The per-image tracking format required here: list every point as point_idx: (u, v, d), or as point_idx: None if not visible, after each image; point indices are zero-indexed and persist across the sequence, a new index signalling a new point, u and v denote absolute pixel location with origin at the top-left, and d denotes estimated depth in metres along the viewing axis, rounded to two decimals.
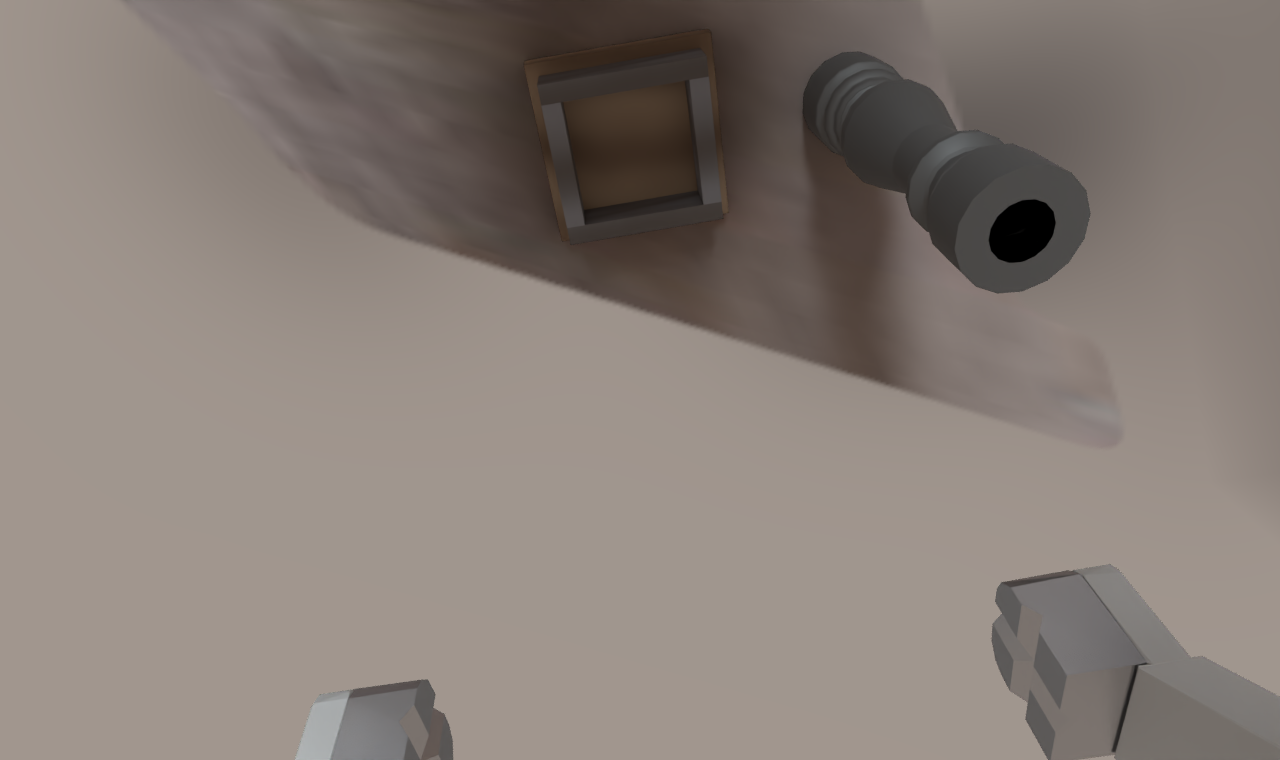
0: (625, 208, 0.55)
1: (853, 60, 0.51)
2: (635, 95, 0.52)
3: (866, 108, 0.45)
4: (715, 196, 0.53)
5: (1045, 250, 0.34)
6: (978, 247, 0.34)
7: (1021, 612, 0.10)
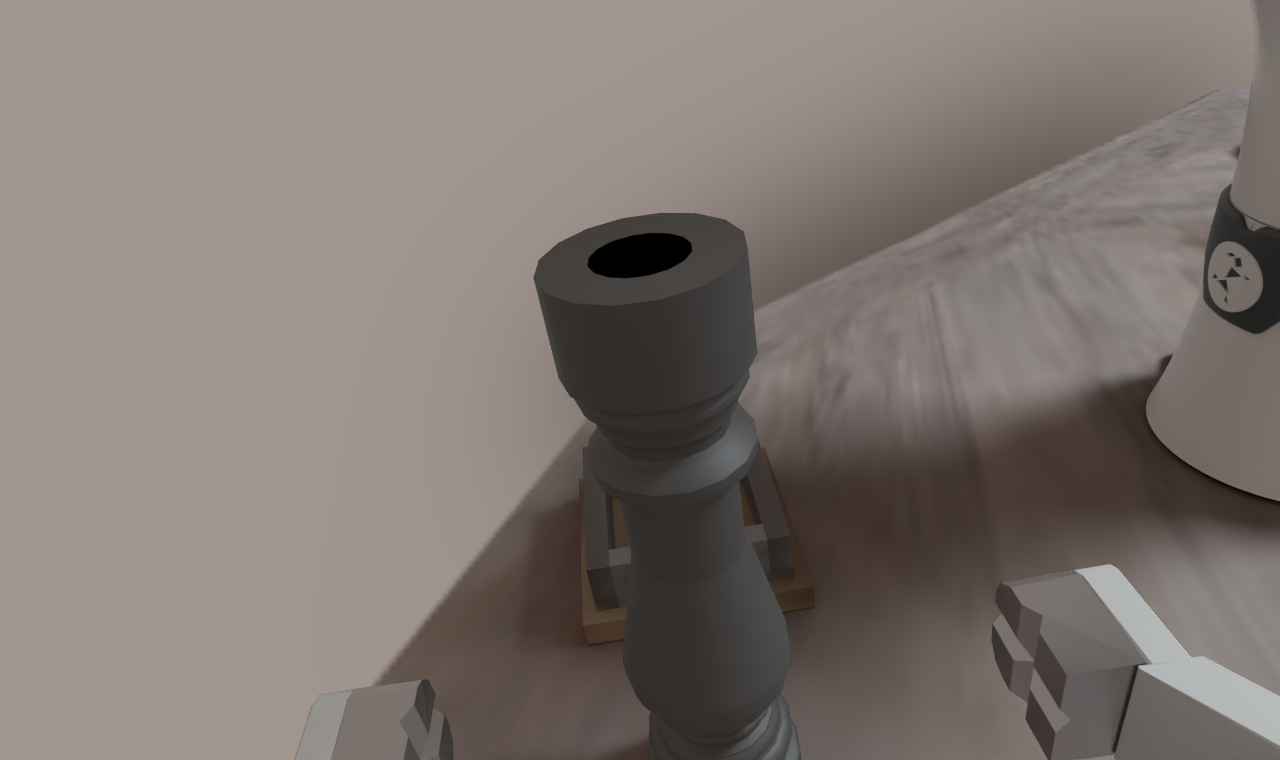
0: (610, 510, 0.47)
1: None
2: None
3: None
4: (617, 560, 0.41)
5: (601, 279, 0.20)
6: (621, 231, 0.23)
7: (1021, 612, 0.10)
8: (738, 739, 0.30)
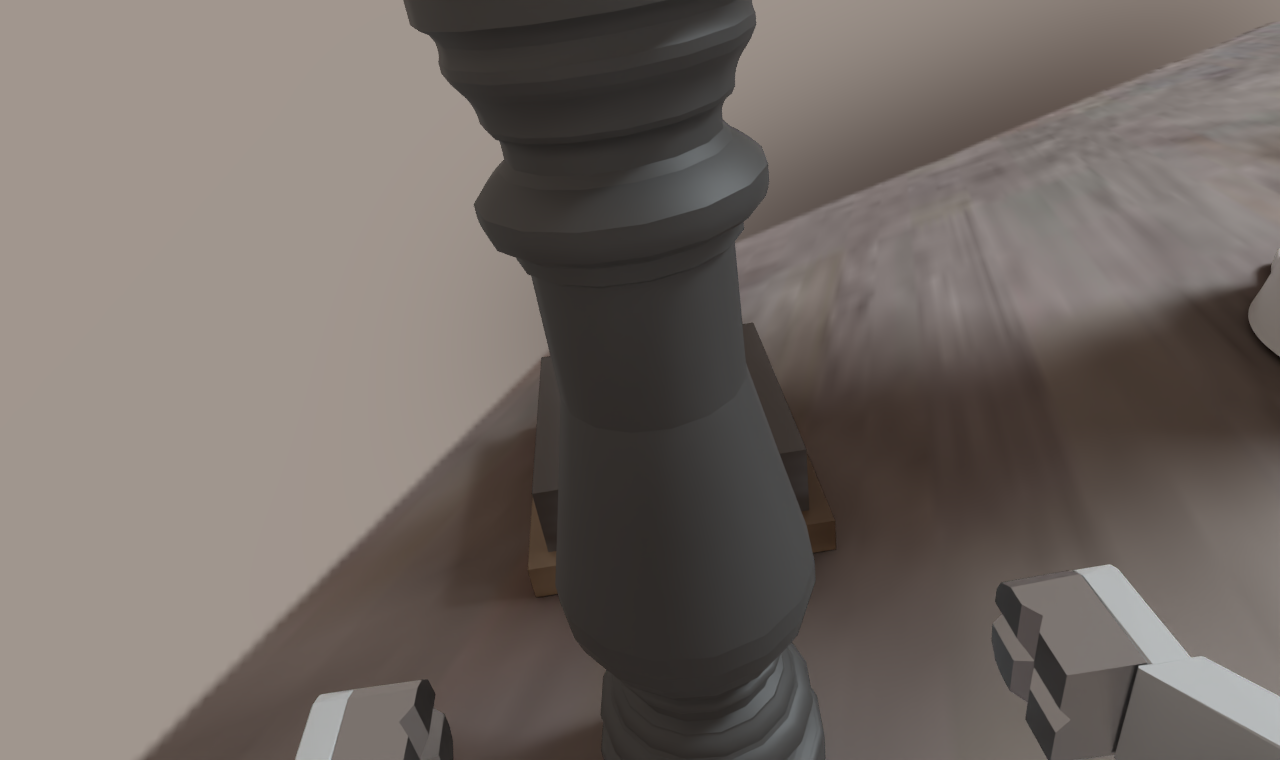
0: None
1: None
2: None
3: None
4: None
5: None
6: None
7: (1021, 612, 0.10)
8: (732, 708, 0.19)
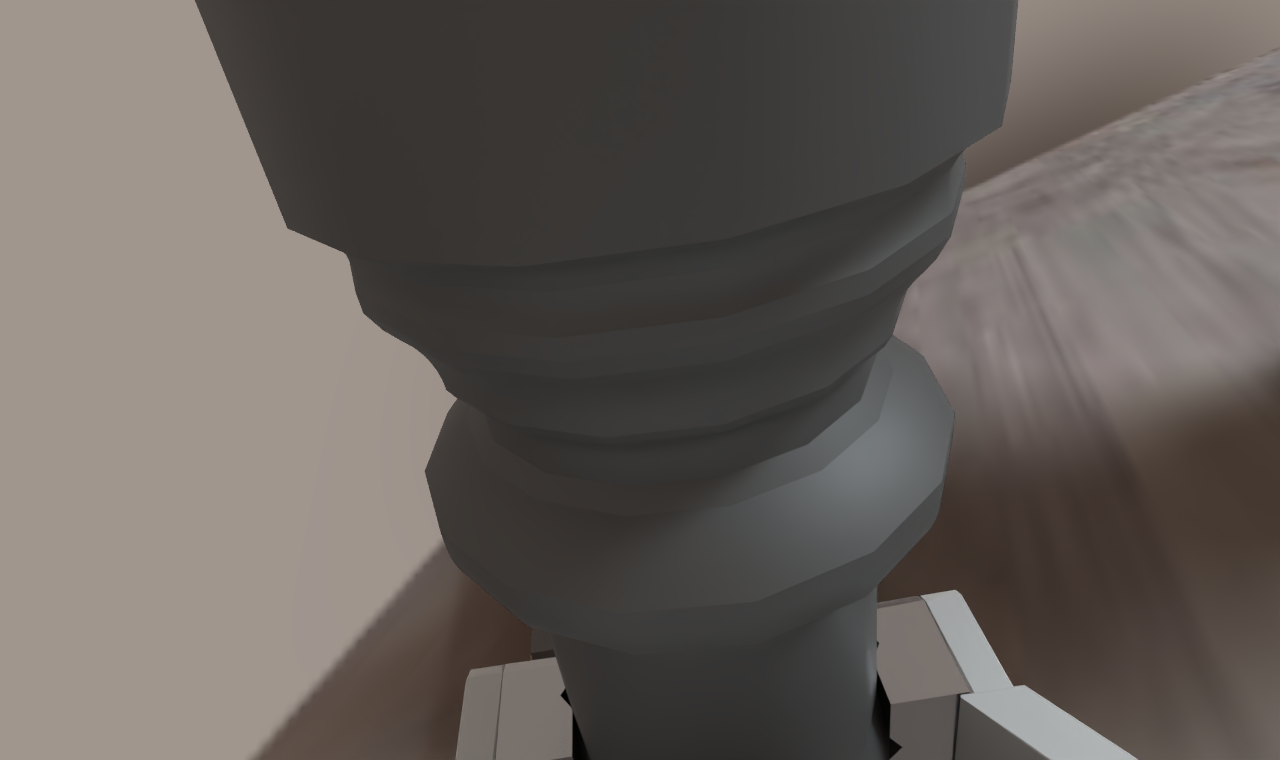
0: None
1: None
2: None
3: None
4: None
5: None
6: None
7: None
8: None
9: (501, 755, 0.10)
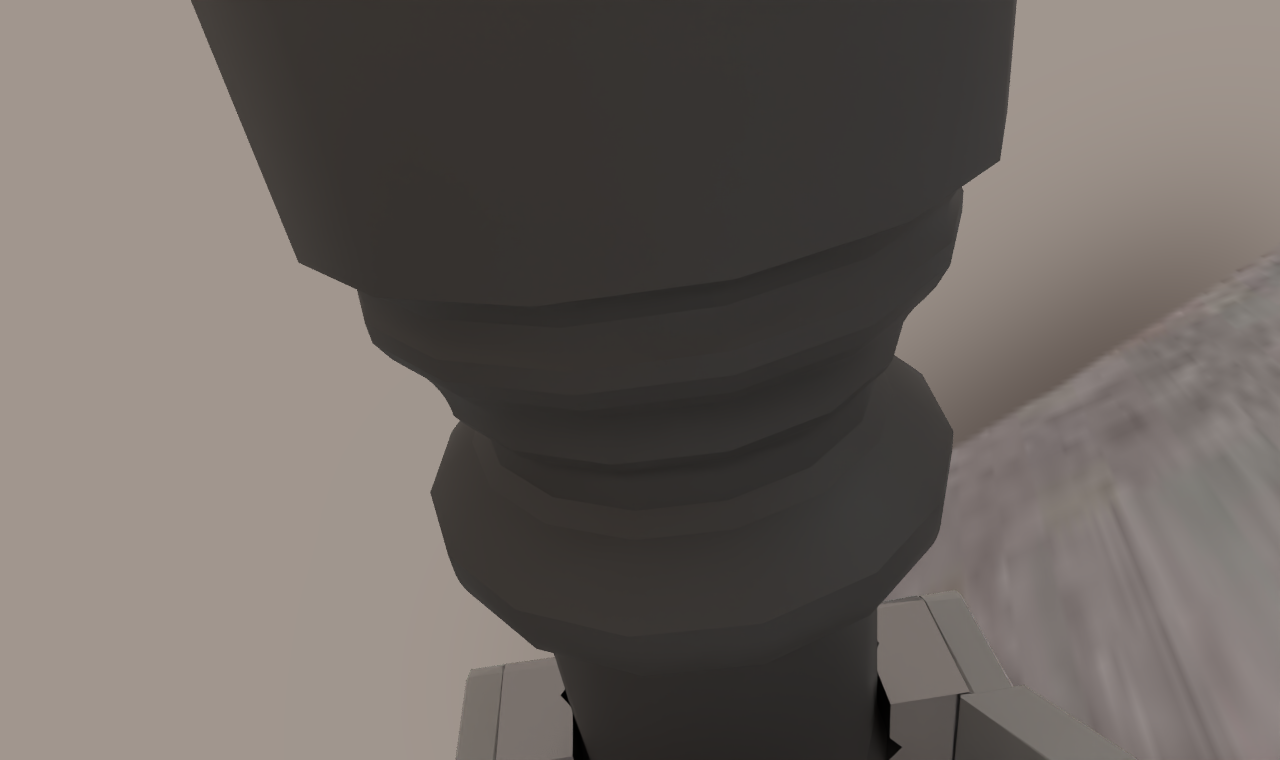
0: None
1: None
2: None
3: None
4: None
5: None
6: None
7: None
8: None
9: (501, 755, 0.10)
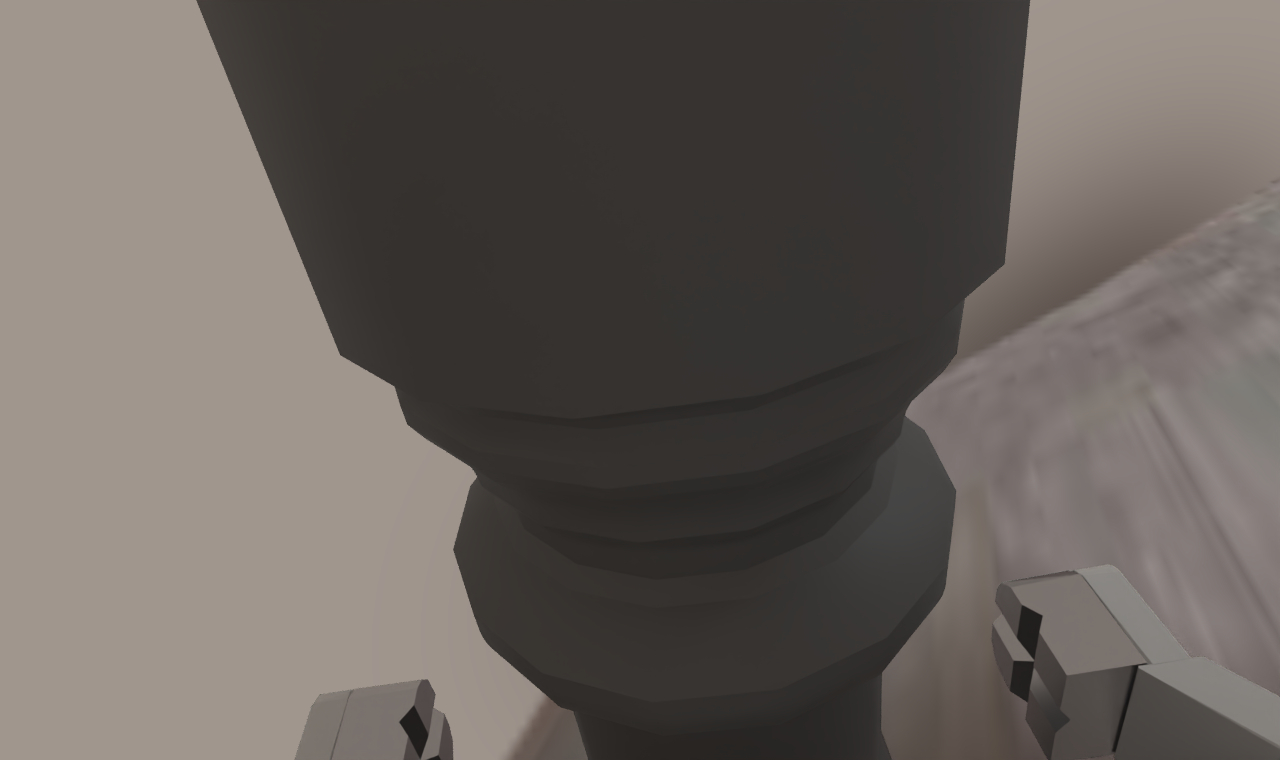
0: None
1: None
2: None
3: None
4: None
5: None
6: None
7: (1021, 612, 0.10)
8: None
9: None
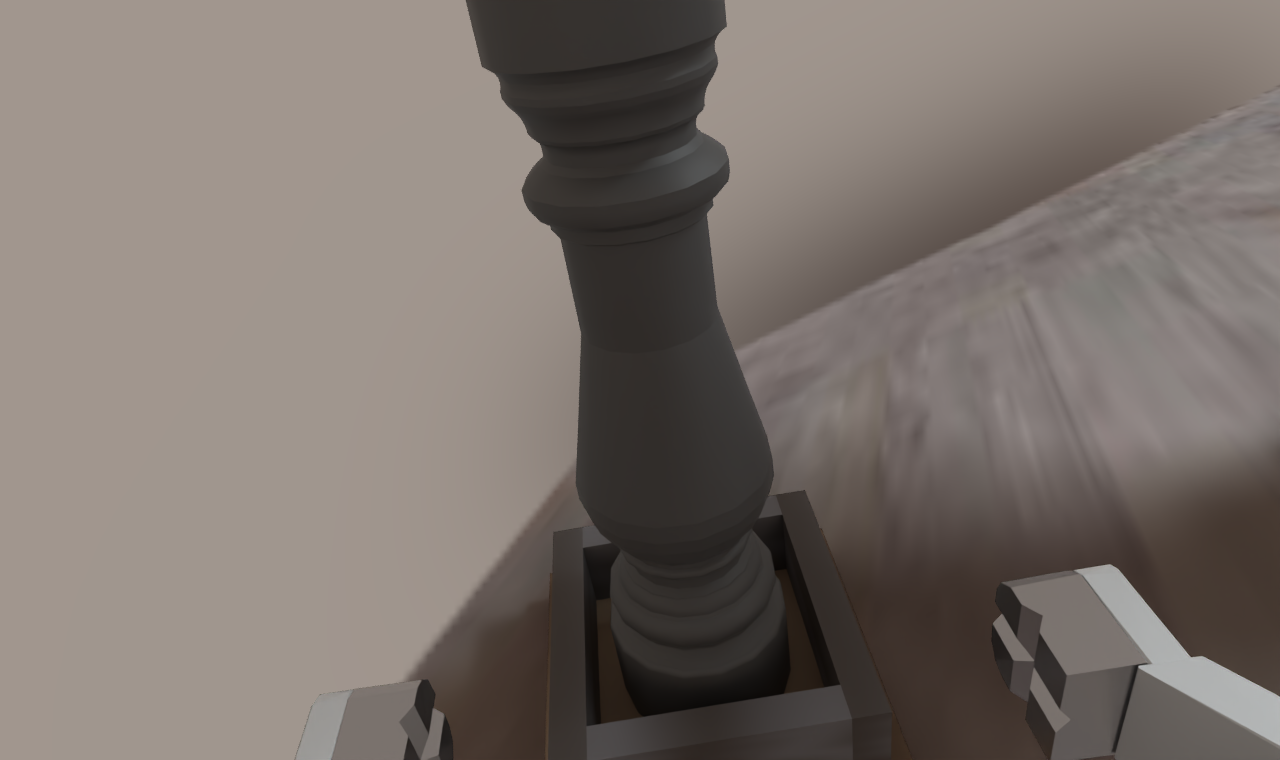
0: (593, 635, 0.30)
1: None
2: None
3: None
4: (600, 748, 0.24)
5: None
6: None
7: (1021, 612, 0.10)
8: (712, 577, 0.25)
9: None
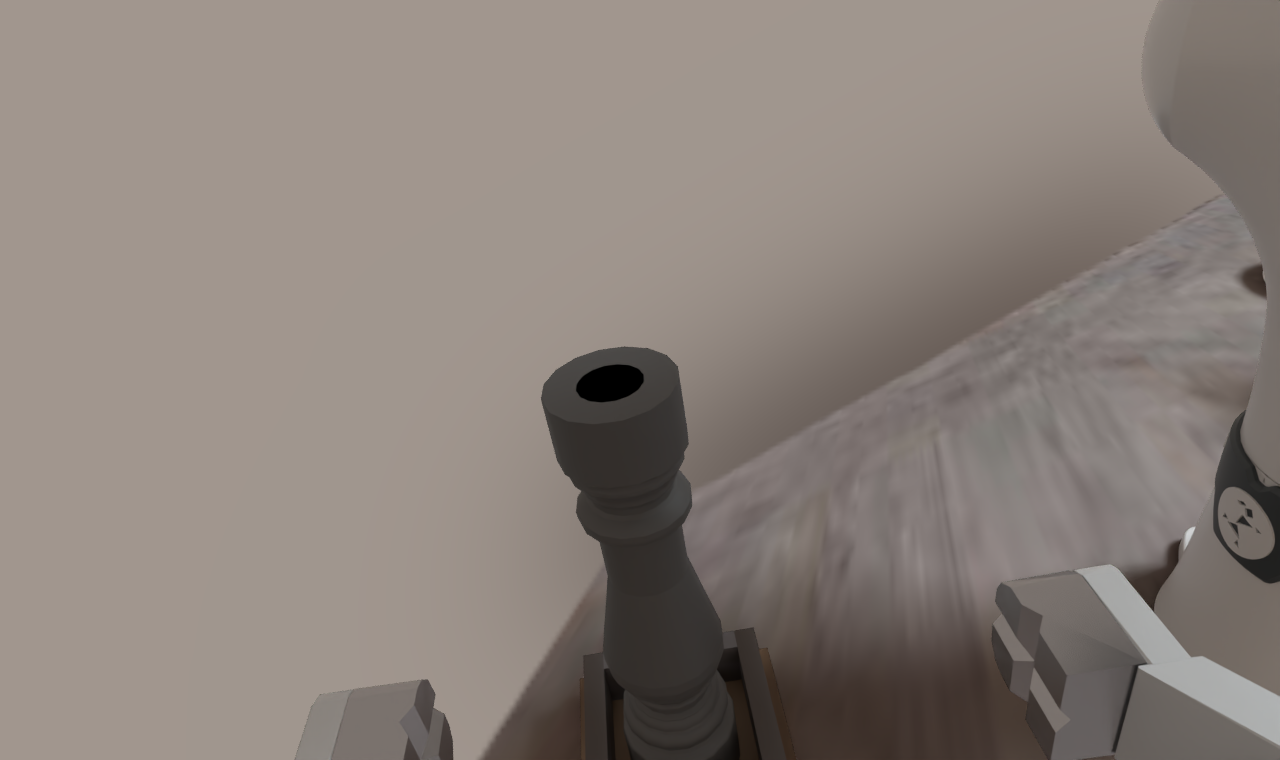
0: (611, 730, 0.46)
1: None
2: None
3: None
4: None
5: (585, 402, 0.32)
6: (598, 362, 0.34)
7: (1021, 612, 0.10)
8: (687, 707, 0.41)
9: None
